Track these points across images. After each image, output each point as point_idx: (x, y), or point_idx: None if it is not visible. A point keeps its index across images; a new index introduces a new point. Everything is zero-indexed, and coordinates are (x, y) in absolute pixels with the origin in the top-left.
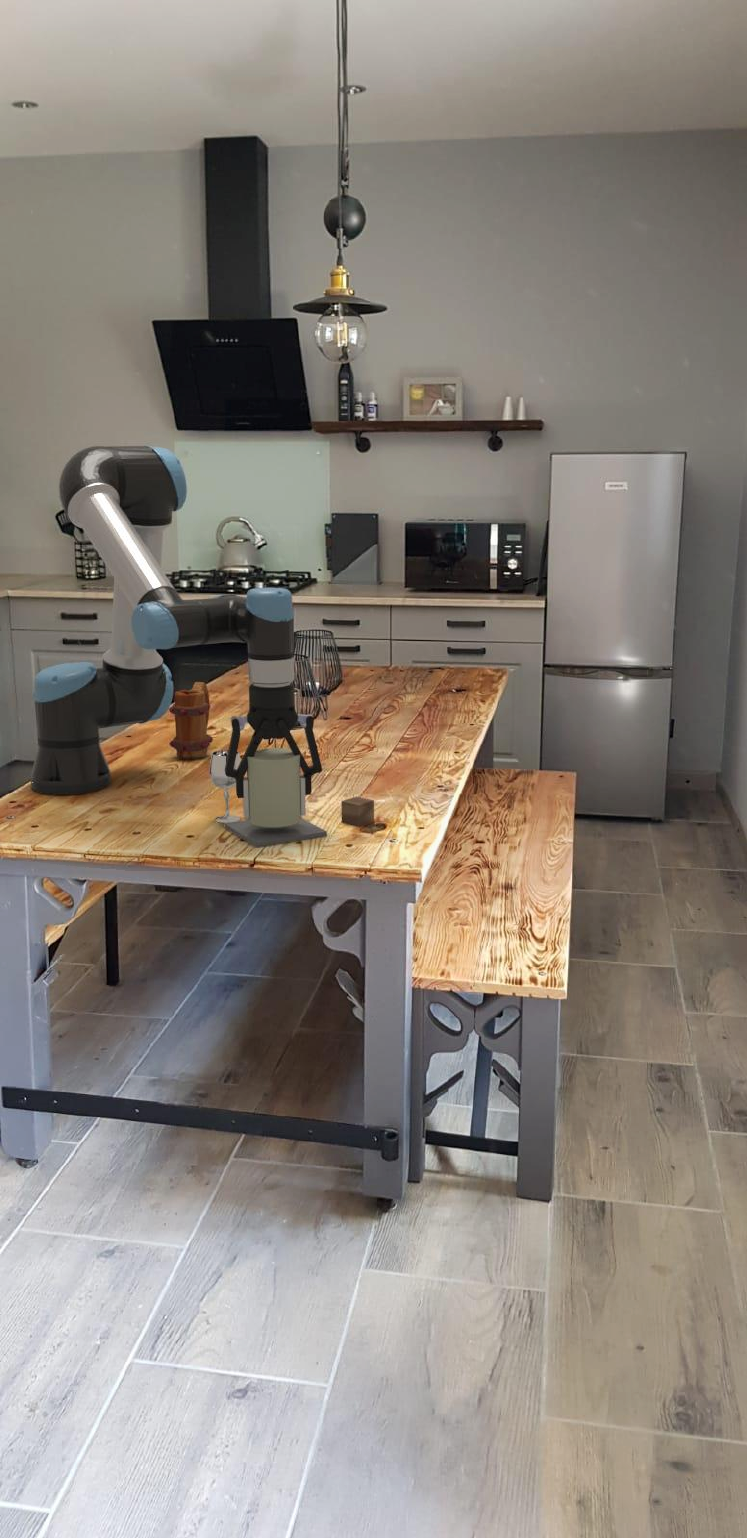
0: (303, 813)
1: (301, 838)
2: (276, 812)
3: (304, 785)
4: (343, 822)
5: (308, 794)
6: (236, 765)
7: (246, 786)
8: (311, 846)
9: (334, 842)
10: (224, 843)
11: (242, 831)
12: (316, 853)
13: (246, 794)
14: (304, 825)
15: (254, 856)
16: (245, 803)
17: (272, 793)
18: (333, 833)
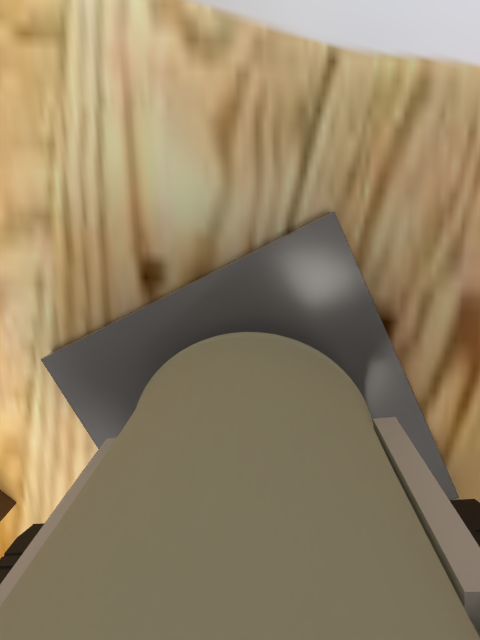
0: (112, 443)
1: (141, 307)
2: (232, 361)
3: (24, 555)
4: (7, 499)
5: (43, 524)
6: None
7: (455, 547)
8: (97, 218)
9: (12, 268)
10: (464, 284)
11: (388, 383)
12: (67, 113)
13: (430, 500)
14: None
15: (338, 77)
16: (415, 463)
17: (247, 416)
18: (30, 383)
